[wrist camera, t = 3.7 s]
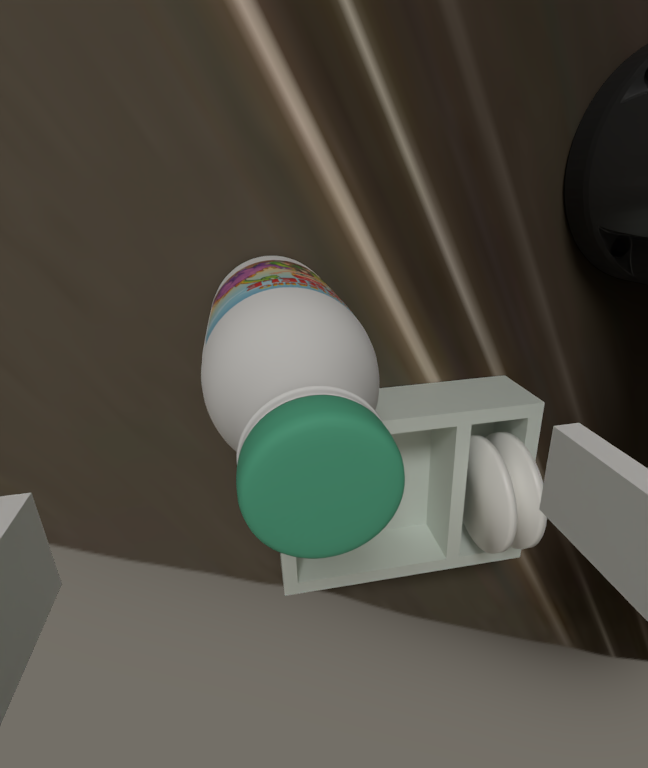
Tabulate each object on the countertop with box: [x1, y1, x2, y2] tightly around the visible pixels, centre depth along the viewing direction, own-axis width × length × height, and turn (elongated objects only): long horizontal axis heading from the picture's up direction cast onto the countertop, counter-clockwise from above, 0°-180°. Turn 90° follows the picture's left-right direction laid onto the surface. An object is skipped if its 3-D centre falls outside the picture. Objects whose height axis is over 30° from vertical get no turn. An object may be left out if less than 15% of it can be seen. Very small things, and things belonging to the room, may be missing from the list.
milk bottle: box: [201, 256, 405, 559], centre depth 21 cm, size 8×8×20 cm
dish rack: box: [280, 375, 547, 596], centre depth 32 cm, size 13×18×9 cm
